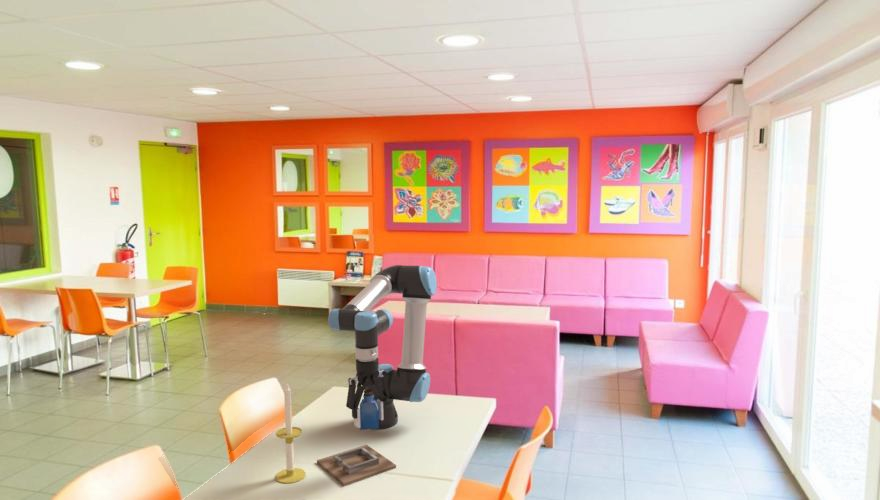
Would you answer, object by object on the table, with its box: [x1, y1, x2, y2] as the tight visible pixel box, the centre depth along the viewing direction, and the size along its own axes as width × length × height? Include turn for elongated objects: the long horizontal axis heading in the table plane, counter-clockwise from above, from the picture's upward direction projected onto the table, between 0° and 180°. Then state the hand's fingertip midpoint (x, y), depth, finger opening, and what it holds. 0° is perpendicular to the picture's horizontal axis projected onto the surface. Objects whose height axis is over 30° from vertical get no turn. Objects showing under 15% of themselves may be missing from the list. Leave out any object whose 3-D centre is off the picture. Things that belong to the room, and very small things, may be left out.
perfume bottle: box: [359, 390, 379, 431], centre depth 199 cm, size 6×6×12 cm
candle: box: [274, 383, 307, 484], centre depth 195 cm, size 10×10×32 cm
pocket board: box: [316, 444, 397, 487], centre depth 204 cm, size 20×20×3 cm
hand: (369, 422), depth 199 cm, fingers closed on perfume bottle, 8 cm apart
